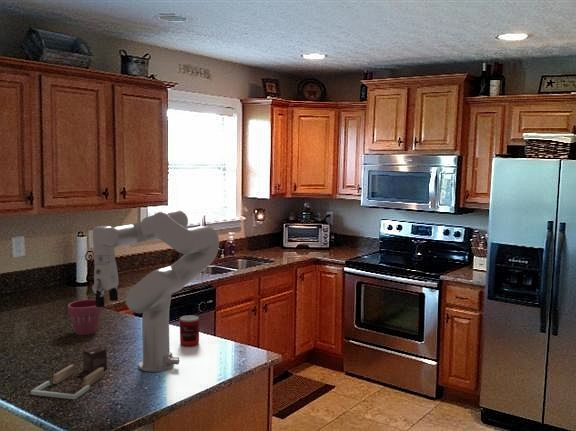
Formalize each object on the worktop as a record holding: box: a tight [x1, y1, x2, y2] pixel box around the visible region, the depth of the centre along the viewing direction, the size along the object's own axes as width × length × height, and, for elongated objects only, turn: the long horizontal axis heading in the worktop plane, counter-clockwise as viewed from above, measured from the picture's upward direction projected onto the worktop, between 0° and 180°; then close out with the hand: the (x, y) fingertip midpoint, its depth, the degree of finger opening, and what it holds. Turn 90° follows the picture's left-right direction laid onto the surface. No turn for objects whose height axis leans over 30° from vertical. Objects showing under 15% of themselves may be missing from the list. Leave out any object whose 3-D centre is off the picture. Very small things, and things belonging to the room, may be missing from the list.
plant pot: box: [67, 298, 104, 336], centre depth 248 cm, size 14×14×13 cm
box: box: [82, 345, 108, 373], centre depth 205 cm, size 6×6×7 cm
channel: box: [52, 364, 105, 388], centre depth 195 cm, size 13×10×3 cm
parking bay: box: [30, 380, 91, 400], centre depth 185 cm, size 16×8×1 cm, turn 77°
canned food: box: [179, 314, 200, 348], centre depth 233 cm, size 8×8×11 cm
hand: (107, 303), depth 215 cm, fingers open, 9 cm apart
